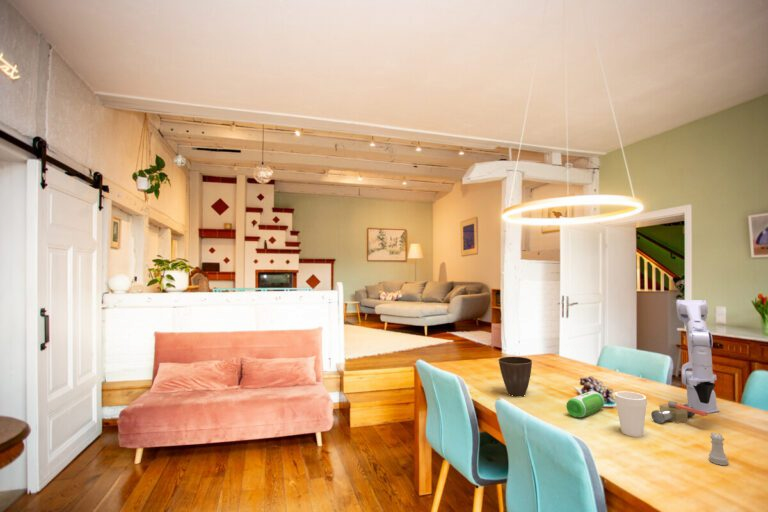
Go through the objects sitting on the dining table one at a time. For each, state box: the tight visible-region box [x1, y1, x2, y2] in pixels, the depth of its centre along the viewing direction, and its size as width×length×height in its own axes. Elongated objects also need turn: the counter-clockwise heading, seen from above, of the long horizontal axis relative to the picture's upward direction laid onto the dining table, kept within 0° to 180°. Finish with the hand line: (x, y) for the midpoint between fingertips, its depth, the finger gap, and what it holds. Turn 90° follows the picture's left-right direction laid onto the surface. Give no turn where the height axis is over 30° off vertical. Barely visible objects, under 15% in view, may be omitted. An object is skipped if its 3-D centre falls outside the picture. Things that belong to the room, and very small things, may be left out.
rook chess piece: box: [708, 432, 729, 466], centre depth 113 cm, size 4×4×8 cm
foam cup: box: [614, 390, 648, 438], centre depth 134 cm, size 10×9×13 cm
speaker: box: [566, 390, 606, 418], centre depth 154 cm, size 18×7×8 cm, turn 125°
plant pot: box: [498, 356, 533, 397], centre depth 180 cm, size 15×15×16 cm
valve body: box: [650, 403, 696, 424], centre depth 145 cm, size 17×6×5 cm, turn 109°
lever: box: [667, 401, 708, 417], centre depth 141 cm, size 12×3×1 cm, turn 19°
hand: (704, 402), depth 138 cm, fingers closed
